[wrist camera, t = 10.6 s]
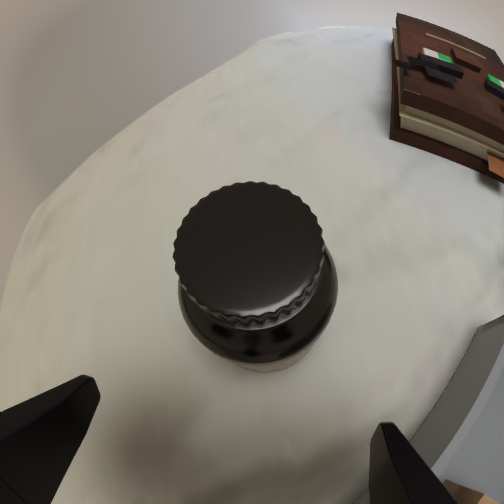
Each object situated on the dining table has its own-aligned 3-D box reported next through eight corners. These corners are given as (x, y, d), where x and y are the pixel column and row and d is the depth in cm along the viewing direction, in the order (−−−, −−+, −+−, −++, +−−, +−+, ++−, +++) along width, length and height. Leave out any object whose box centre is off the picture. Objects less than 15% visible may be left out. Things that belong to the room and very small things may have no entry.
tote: (442, 573, 8) (467, 595, 4) (332, 523, 13) (346, 555, 9) (556, 404, 13) (592, 398, 9) (478, 327, 18) (516, 308, 14)
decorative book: (498, 44, 27) (566, 173, 15) (485, 77, 33) (529, 214, 22) (389, 2, 31) (392, 91, 20) (384, 40, 38) (374, 154, 26)
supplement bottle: (205, 293, 21) (133, 189, 11) (296, 263, 22) (307, 137, 11) (232, 387, 18) (165, 380, 8) (332, 354, 19) (395, 302, 8)
